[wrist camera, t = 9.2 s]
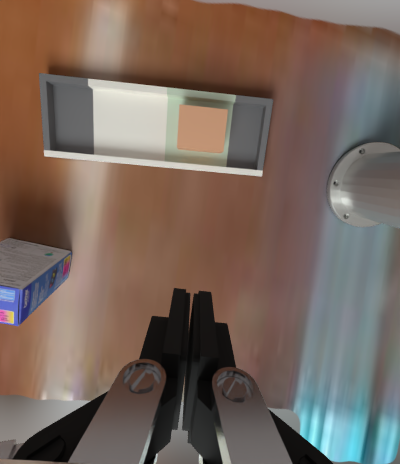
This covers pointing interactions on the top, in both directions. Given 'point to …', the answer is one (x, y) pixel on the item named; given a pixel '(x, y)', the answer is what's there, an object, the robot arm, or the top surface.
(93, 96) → the track
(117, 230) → the top surface
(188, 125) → the terracotta block
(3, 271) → the ink cartridge box
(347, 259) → the top surface
